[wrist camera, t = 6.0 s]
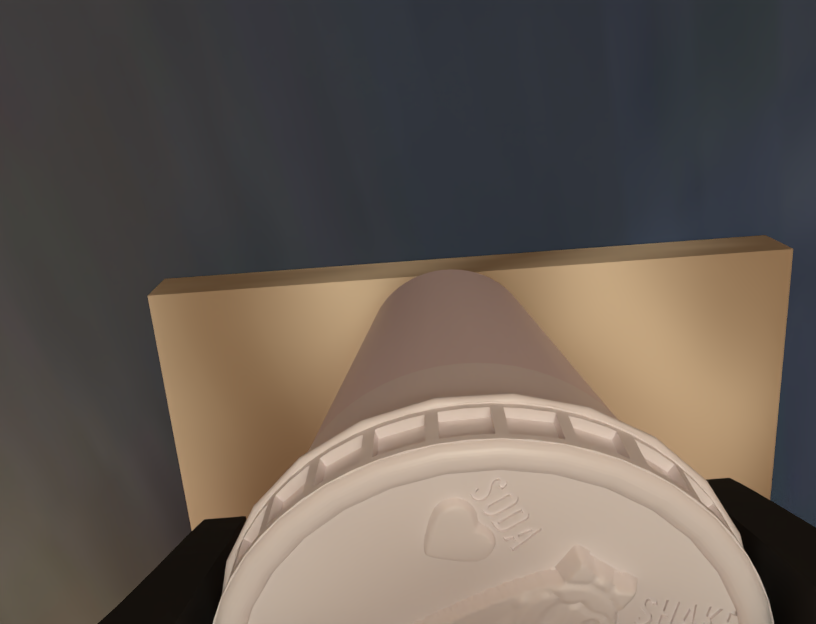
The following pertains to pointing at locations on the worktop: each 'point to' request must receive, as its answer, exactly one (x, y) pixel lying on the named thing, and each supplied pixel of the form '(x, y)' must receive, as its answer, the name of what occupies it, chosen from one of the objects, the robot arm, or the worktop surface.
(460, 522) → the smoothie
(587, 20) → the worktop surface
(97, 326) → the worktop surface
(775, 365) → the base board
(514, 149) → the worktop surface
